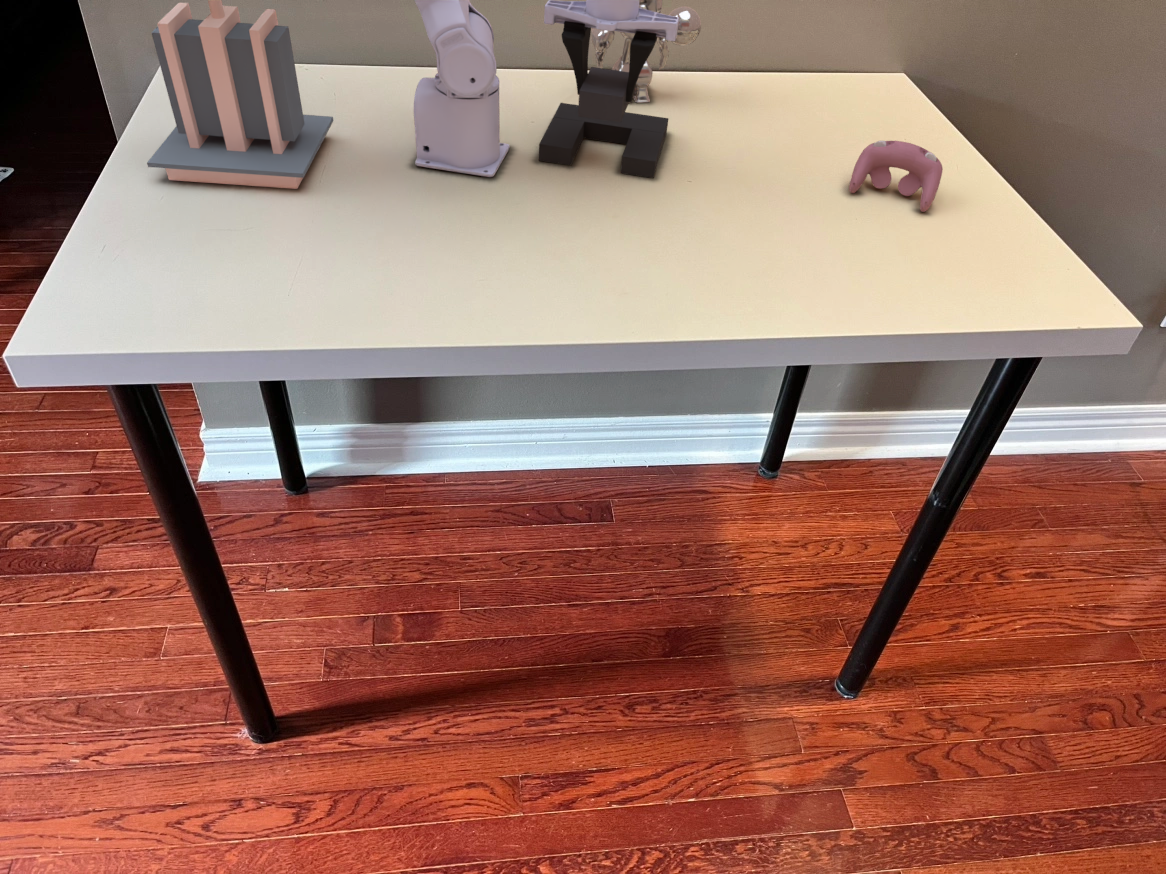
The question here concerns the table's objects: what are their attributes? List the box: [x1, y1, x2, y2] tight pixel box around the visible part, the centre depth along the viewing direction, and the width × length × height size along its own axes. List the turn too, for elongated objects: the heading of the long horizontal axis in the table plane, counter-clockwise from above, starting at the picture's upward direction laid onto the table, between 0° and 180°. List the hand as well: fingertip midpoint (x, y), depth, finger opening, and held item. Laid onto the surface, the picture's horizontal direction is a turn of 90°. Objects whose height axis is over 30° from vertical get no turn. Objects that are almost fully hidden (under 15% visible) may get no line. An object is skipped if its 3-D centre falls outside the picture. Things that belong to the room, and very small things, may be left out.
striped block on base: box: [146, 0, 334, 190], centre depth 90 cm, size 18×14×33 cm
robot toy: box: [590, 0, 702, 104], centre depth 116 cm, size 15×6×15 cm, turn 105°
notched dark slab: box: [538, 102, 669, 179], centre depth 109 cm, size 14×12×2 cm
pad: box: [578, 66, 630, 122], centre depth 101 cm, size 5×7×3 cm
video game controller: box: [848, 140, 943, 213], centre depth 104 cm, size 10×5×7 cm, turn 65°
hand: (605, 95), depth 101 cm, fingers closed on pad, 5 cm apart
